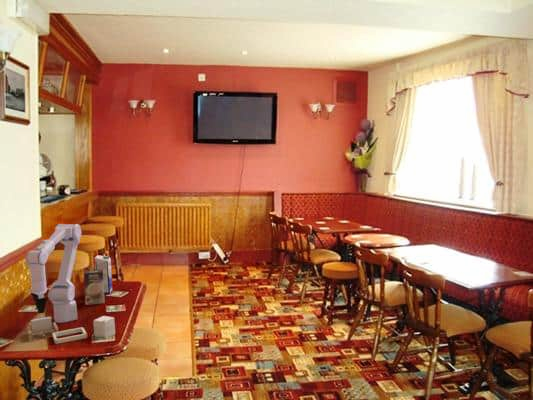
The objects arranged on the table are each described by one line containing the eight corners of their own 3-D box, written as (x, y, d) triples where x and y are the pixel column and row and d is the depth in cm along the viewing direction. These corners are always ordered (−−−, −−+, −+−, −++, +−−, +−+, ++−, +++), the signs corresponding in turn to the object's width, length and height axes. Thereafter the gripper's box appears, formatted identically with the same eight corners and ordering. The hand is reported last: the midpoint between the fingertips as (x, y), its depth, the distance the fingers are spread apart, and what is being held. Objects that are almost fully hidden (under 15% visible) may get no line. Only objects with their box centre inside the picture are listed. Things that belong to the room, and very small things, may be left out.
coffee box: (85, 305, 249) (83, 273, 248) (85, 301, 255) (83, 270, 254) (104, 303, 252) (103, 271, 250) (104, 299, 258) (102, 268, 256)
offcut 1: (42, 336, 207) (42, 331, 207) (43, 338, 205) (42, 333, 205) (32, 338, 205) (32, 333, 205) (32, 340, 204) (32, 335, 203)
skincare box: (104, 332, 213) (102, 315, 212) (115, 334, 210) (114, 317, 209) (93, 337, 207) (92, 320, 206) (105, 339, 205) (104, 321, 204)
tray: (83, 332, 213) (82, 327, 212) (87, 339, 205) (86, 333, 205) (52, 338, 207) (52, 332, 206) (55, 345, 199) (55, 340, 199)
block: (51, 330, 214) (50, 316, 213) (52, 331, 213) (51, 317, 212) (32, 333, 210) (31, 320, 210) (32, 335, 209) (31, 321, 208)
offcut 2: (54, 334, 210) (54, 329, 209) (55, 335, 208) (55, 331, 207) (44, 335, 208) (44, 331, 208) (45, 337, 206) (44, 332, 206)
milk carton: (99, 291, 274) (97, 254, 272) (112, 290, 275) (110, 254, 272) (96, 294, 267) (94, 257, 265) (109, 294, 268) (107, 257, 265)
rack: (55, 329, 217) (54, 321, 216) (58, 337, 208) (58, 328, 208) (27, 335, 211) (26, 326, 211) (29, 342, 203) (28, 334, 202)
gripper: (26, 276, 213) (28, 307, 215) (29, 284, 201) (31, 317, 202) (44, 274, 217) (46, 305, 218) (48, 281, 204) (50, 314, 206)
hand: (40, 310), depth 210 cm, fingers open, 6 cm apart
